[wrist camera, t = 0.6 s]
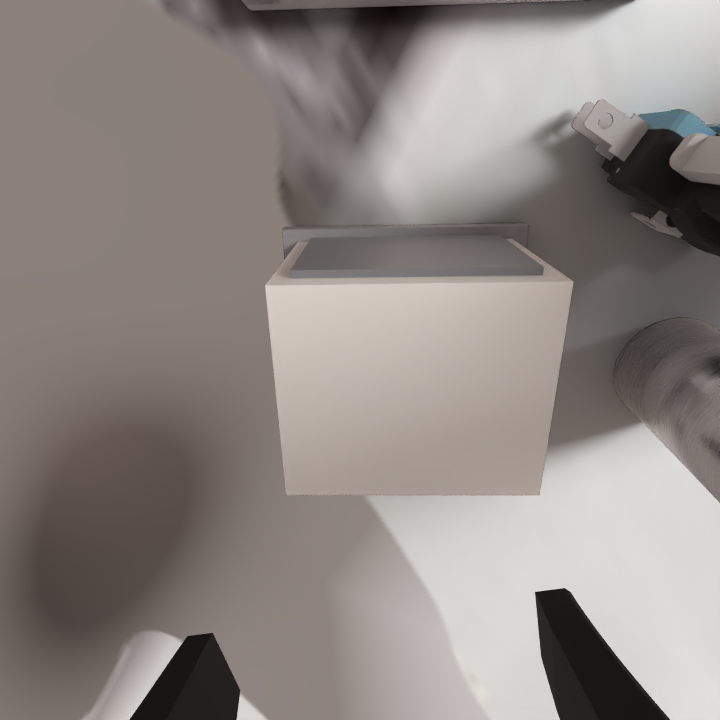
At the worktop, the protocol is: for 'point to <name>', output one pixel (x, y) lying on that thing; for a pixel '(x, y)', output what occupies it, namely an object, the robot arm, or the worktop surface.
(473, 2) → the tray
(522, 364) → the panel
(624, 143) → the push button
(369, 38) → the worktop surface
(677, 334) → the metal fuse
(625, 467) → the worktop surface
